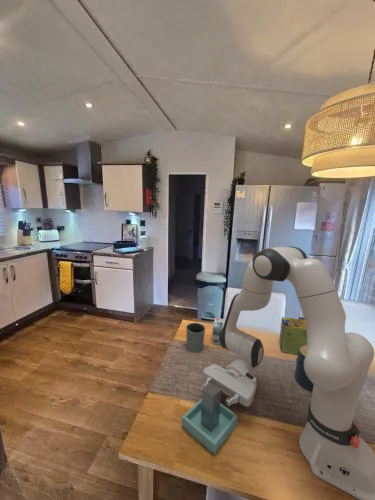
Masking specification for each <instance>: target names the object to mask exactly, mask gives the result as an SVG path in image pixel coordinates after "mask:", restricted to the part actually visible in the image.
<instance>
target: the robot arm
mask: <svg viewBox="0 0 375 500" xmlns="http://www.w3.org/2000/svg"><path fill="white" fill-rule="evenodd" d="M284 281H288V282H289V283H291V285H292V286H293V288H294V291H295V294H296V297H297V300H298V303H299V306H300V310H301V312H302V315H303V320H305V323H306V330H307V353H306V357H305V360H304V370H305V373H306V375H307V377H308V378H309V380H310V381H311V382H312V383H313V384H314V386H313V391H311V392H312V393H311V400H310V403H309V404H308V406H307V411H306V412H307V413H306V424H305V426H304V429H303V431H302V432H301V433H300V436H299V440H298V441H299V449H300V450H301V452H302V454H303V456H304V458H306V460H307V461H308V463H309V466H310V469H311V471H312V473H313V475H314V476H315V477H317V478H318V479H320V480H322V481H324V482H326V483H328V484H331V485H332V486H334V487H336V488H338V489H340V490H341V491H343V492H345V493H347V494H349V495H351V496H353V497H354V498H356V499H358V500H375V452H374V450H373V449H372V447H370V445H369V444H367V442H366V441H365V440H364V439H363V438H362V437H361V436H360V423H359V422H357V425H356V424H355V423H354V422H353V421H354V416H355V411H356V407H357V403H358V401H359V397H360V395H361V392H362V391H363V387H364V384H365V382H366V380H367V377H368V374H369V370H370V368H371V365H372V363H373V360H374V357H375V350H374V347H373V344H372V343H371V342H370V340H369V339H368V338H366V337H365V336H363V335H361V334H359V333H356V332H346V329H345V325H346V320H347V315H346V312H345V309H344V306H343V303H342V301H341V298H340V296H339V294H338V293H339V292H338V290H337V288H336V286H335V283H334V280H333V279H332V277H331V275H330V273H329V271H328V269H327V268H326V266H325V264H324V263H323V262H322V261H321V260H320V259H317V258H311V257H310V258H309V257H308V255H307V254H306V252H305V251H304V250H303V249H301V248H299V247H296V246H291V245H289V246H275V247H270V248H264V249H261V250H260V251H258V252H257V253H256V254H255V255H254V257H253V258H252V260H251V261H250V262H249V263H248V264H247V265H246V268H245V272H244V276H243V281H242V286H241V290H240V292H239V293H236V294H235V295H234V296H233V297H232V300H231V302H230V305H229V307H228V310H227V314H226V316H225V323H224V326H223V328H222V330H221V333H220V336H219V341H220V344H221V345H220V346H221V348H222V349H225V350H227V351H229V352H232V353H233V354H235V355H237V357H236V358H235V359H234V360H232V361H231V363H229V364H228V365H227V366H226V367H223V366H221V365H220V364H218V363H217V364H216V363H214V364H213V363H211V365H208V366H207V367H205V368H204V369H203V371H202V379H203V380H204V381H205V384H204V385H203V388H204V387H205V386H207V385H208V384H209V383H210V382H211V383H212V384H214V385H216V386H217V387H219V388H220V389H221V393H222V392H223V393H224V394H225V395H227V396H229V397H227V398H226V400H225V405H226V406H228V407H230V406H231V405H233V404H237V403H240V404H241V405H242V406H244V407H250V406H251V404H252V403H253V401H254V397H255V395H256V393H257V392H256V391H257V384H258V383H257V378H256V377H255V376H254V374H256V373H257V370H258V369H259V368H260V366H261V363H262V361H263V359H264V354H265V353H264V351H265V348H264V345H263V342H262V341H261V339H260V338H258V337H256V336H255V335H252V334H250V333H248V332H245V331H243V330H241V329H239V328H238V327H237V323H238V321H239V316H240V313H241V312H244V311H245V312H246V311H248V312H249V311H251V312H252V311H258V310H262V309H264V308H265V307H266V306H268V305H269V304H270V302H271V301H270V300H271V296H272V292H273V291H272V290H273V285H274V282H284Z"/></svg>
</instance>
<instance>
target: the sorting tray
mask: <svg viewBox="0 0 375 500" xmlns="http://www.w3.org/2000/svg"><path fill="white" fill-rule="evenodd" d="M201 404H202V397H200V399H199V400H198V401H196V403H195V404H194V405H193V406H192V407H191V408H190V409H188V410H187V411H186V412H185V414H183V415H182V417H181V427H182V428H183V429H184V430H185V431H186V432H187V433H189V435H191V436H192V437H193V438H194V439H195V440H196V441H198V442H199V443H200V445H202V446H203V447H205V449H207V451H209V452H210V453H211V454H212V455H213V456H215V455H216V454H217V452H218V451H219V450H220V449H221V447H222V445H224V443H225V442H226V441H227V439H228V438H229V436H230V435H231V434H232V432H234V430H235V429H236V427H237V426H238V423H239V422H238V421H239V415H238V414H237V413H235V412H234V411H232V410H231V409H229V407H226V406H225V405H224V404H222V403H221V402H220V415H219V424H218V425H217V426H216V427H215V428H214V430H213V431H212V432H210V431H209V430H208V429H207V428H205V427H204V426H203V425H202V424H201Z"/></svg>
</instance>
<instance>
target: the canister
mask: <svg viewBox="0 0 375 500" xmlns="http://www.w3.org/2000/svg"><path fill="white" fill-rule="evenodd" d="M306 353H307V345H305V346H302V347H301V348H300V350H299V351H298V353H297V355H296V356H297V357H296V361H295V362H296V364H295V370H294V379H295V381H296V383H297V384H299V385H300V386H301V387H303V388H304V389H305V390H308V391H311V392H313V386H314V384H313V383H312V382H311V381H310V380H309V378H308V377H307V375H306V373H305V370H304V360H305V357H306Z"/></svg>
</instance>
